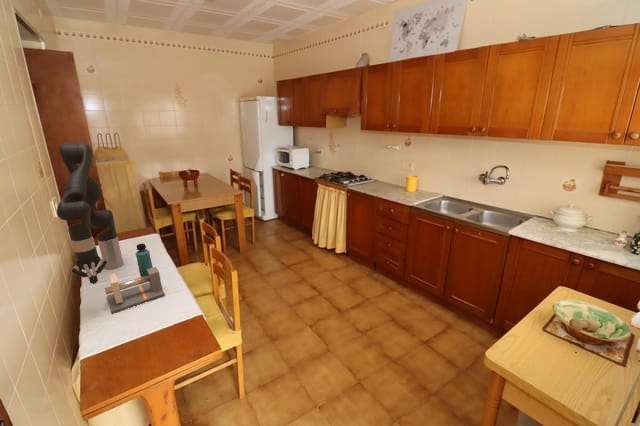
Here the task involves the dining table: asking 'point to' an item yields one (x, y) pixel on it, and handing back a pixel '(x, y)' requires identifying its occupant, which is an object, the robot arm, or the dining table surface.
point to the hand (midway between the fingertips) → (94, 283)
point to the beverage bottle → (143, 259)
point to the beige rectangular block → (116, 288)
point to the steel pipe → (129, 284)
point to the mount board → (138, 293)
